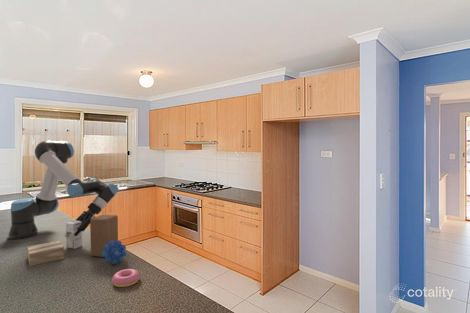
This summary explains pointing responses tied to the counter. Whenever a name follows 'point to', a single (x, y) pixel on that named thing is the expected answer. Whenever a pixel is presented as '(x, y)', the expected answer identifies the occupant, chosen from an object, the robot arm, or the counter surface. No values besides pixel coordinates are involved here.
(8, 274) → the counter surface
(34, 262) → the birch block
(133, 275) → the doughnut
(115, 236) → the wooden block
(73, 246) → the syrup box
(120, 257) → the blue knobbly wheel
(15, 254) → the counter surface
